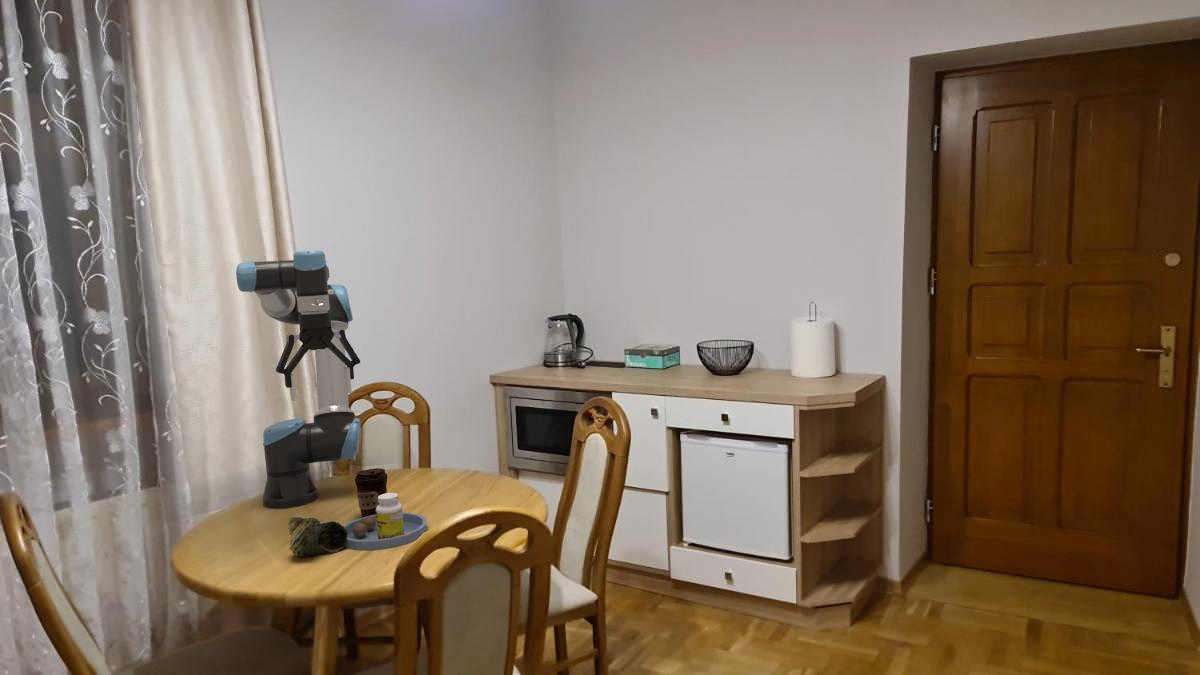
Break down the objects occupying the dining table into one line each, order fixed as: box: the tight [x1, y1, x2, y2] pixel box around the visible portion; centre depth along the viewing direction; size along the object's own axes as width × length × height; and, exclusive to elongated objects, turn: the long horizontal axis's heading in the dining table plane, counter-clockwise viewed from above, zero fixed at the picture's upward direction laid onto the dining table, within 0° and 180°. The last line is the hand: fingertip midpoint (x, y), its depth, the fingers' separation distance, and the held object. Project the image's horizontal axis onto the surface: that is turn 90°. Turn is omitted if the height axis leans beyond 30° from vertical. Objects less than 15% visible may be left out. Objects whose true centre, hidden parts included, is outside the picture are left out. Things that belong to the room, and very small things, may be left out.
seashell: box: [287, 516, 348, 559], centre depth 185 cm, size 11×11×10 cm
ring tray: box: [343, 511, 428, 551], centre depth 197 cm, size 21×21×3 cm
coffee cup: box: [354, 467, 388, 518], centre depth 211 cm, size 9×8×13 cm
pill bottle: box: [376, 492, 404, 539], centre depth 192 cm, size 6×6×11 cm
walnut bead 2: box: [362, 517, 376, 531], centre depth 200 cm, size 4×4×4 cm
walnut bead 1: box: [353, 523, 367, 538], centre depth 195 cm, size 4×4×4 cm
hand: (321, 396), depth 201 cm, fingers open, 13 cm apart
